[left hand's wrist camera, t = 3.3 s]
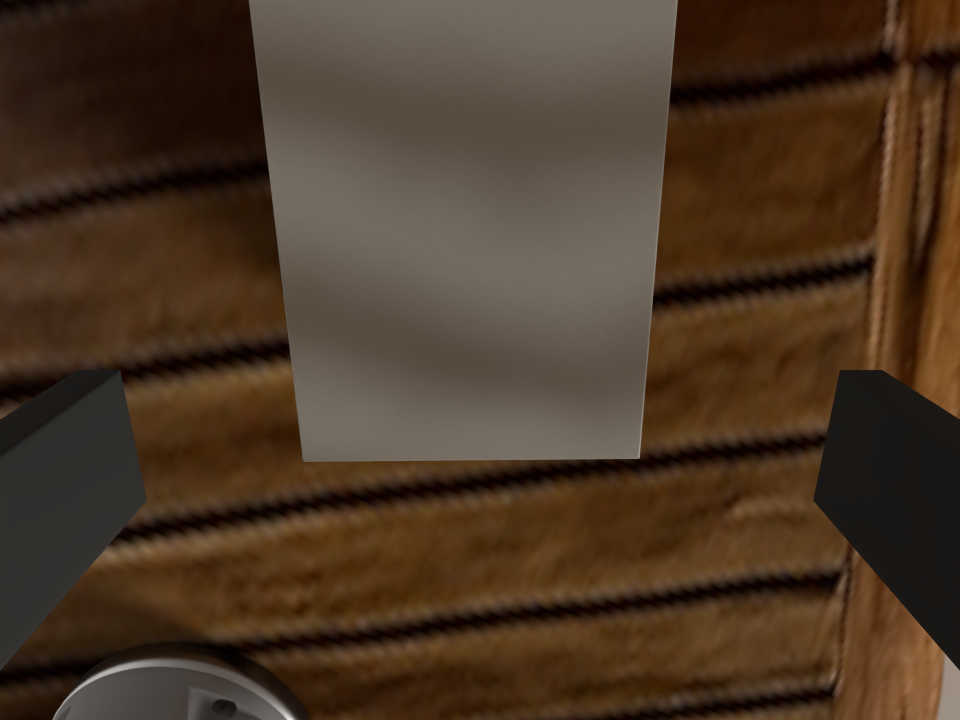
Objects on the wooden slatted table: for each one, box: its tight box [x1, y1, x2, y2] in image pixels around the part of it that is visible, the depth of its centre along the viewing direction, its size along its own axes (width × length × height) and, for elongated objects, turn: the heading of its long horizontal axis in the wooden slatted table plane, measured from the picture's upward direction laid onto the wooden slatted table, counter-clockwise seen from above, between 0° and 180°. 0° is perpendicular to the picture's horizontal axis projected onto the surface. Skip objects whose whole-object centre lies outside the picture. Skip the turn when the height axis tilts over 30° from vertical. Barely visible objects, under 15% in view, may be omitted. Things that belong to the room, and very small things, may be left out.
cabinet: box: [249, 0, 678, 462], centre depth 22 cm, size 21×11×11 cm, turn 1°
